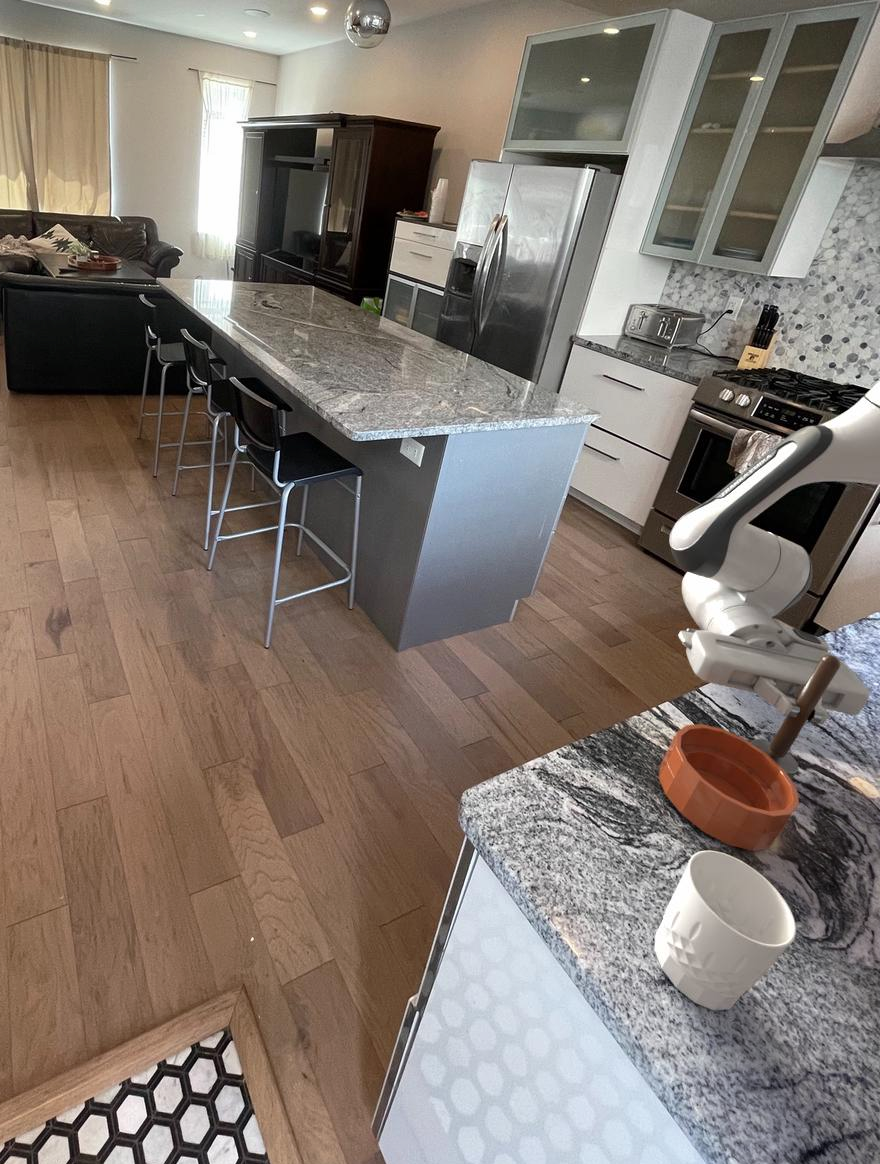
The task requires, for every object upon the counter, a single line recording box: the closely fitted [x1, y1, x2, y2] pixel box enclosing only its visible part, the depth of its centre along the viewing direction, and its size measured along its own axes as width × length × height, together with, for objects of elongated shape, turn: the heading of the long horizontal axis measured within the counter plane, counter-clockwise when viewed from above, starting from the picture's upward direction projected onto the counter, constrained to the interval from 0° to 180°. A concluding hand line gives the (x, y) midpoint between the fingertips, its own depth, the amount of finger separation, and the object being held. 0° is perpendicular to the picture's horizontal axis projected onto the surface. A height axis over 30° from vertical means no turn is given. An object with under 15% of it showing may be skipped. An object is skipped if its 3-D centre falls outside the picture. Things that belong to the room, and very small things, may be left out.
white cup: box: [654, 850, 797, 1011], centre depth 54 cm, size 8×8×10 cm
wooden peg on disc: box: [750, 654, 840, 781], centre depth 77 cm, size 5×5×18 cm
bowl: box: [658, 723, 800, 852], centre depth 72 cm, size 12×12×6 cm
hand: (805, 716), depth 75 cm, fingers closed on wooden peg on disc
